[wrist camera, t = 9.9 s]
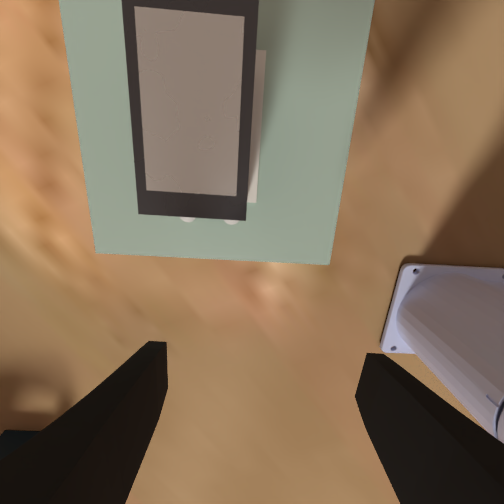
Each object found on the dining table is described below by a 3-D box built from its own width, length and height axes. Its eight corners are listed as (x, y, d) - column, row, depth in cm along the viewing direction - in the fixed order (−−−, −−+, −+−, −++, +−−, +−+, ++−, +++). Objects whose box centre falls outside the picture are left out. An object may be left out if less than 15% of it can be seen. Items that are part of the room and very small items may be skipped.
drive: (254, 70, 13) (260, -22, 7) (246, 201, 15) (246, 221, 9) (179, 63, 13) (116, -36, 7) (182, 197, 15) (137, 214, 9)
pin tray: (366, -14, 14) (413, -87, 10) (323, 257, 18) (342, 280, 15) (70, -42, 13) (-3, -132, 9) (107, 246, 18) (70, 266, 14)
